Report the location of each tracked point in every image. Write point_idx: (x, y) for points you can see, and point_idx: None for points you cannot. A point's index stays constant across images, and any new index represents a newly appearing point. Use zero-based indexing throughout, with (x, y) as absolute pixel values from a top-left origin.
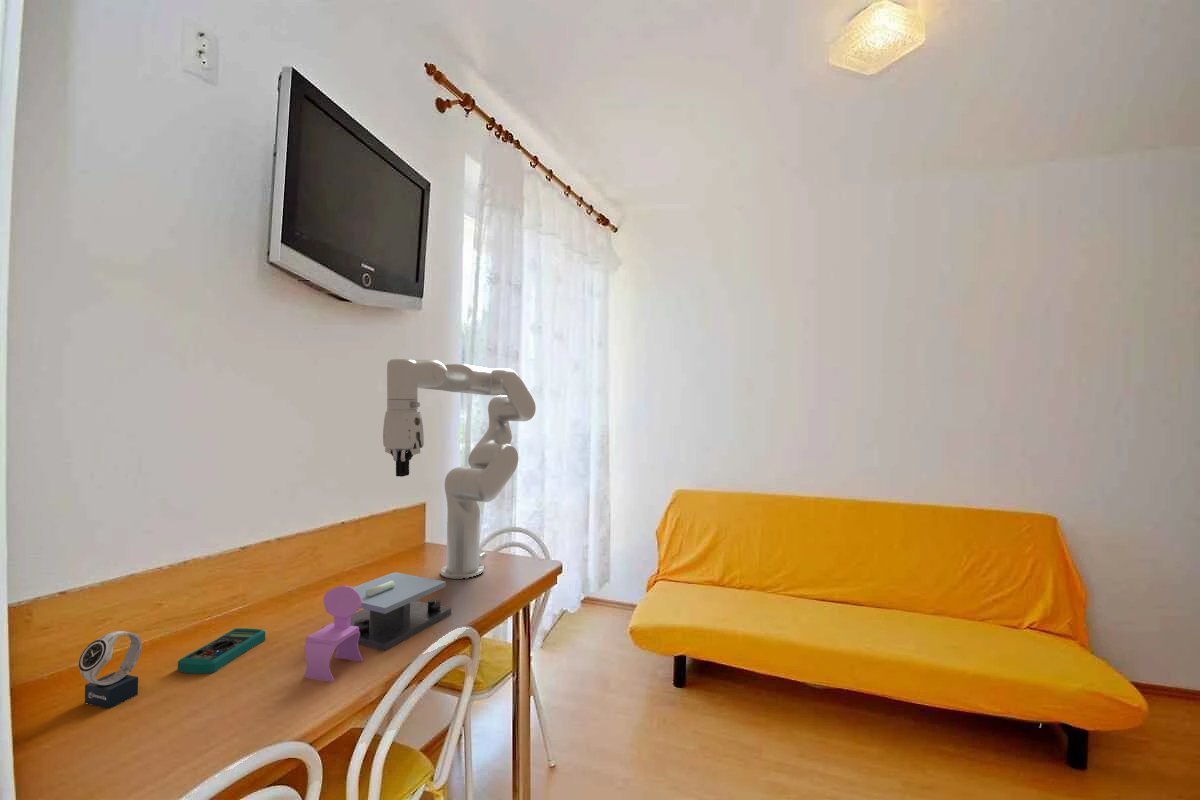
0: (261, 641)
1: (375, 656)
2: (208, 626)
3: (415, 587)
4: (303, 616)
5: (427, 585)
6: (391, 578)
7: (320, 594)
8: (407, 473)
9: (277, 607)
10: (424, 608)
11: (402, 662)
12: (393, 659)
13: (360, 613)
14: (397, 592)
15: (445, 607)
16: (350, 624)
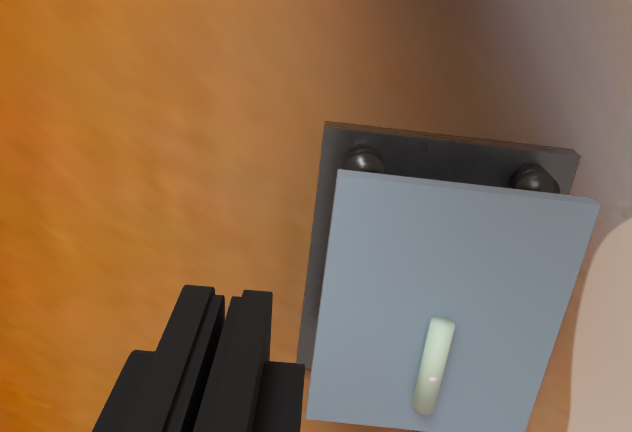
0: None
1: None
2: (6, 393)
3: (518, 290)
4: (155, 290)
5: (551, 262)
6: (377, 242)
7: (37, 144)
8: (268, 328)
9: (28, 266)
10: (492, 185)
11: (570, 401)
12: (543, 397)
13: (323, 274)
14: (485, 344)
15: (559, 158)
16: None
